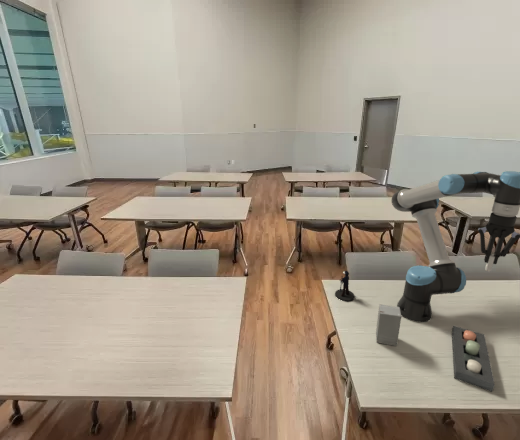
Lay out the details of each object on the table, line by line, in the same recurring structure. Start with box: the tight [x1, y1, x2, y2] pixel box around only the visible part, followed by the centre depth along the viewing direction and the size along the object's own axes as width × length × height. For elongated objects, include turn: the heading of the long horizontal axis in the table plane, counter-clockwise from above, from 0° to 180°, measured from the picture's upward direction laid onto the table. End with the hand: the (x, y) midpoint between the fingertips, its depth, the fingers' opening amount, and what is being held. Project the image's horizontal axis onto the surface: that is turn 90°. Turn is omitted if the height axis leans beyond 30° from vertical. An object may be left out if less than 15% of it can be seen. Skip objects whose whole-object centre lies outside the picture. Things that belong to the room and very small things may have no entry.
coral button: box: [463, 329, 476, 341], centre depth 118 cm, size 4×4×4 cm
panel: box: [451, 325, 495, 393], centre depth 111 cm, size 11×28×4 cm, turn 149°
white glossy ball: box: [466, 359, 482, 374], centre depth 104 cm, size 4×4×4 cm
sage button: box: [465, 340, 480, 355], centre depth 110 cm, size 4×4×4 cm
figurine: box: [334, 270, 355, 302], centre depth 150 cm, size 10×10×15 cm
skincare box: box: [375, 303, 403, 347], centre depth 119 cm, size 8×7×16 cm
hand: (487, 270), depth 113 cm, fingers closed
